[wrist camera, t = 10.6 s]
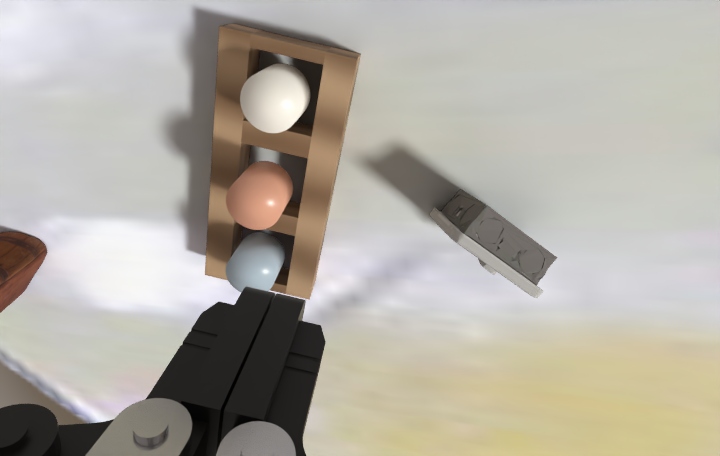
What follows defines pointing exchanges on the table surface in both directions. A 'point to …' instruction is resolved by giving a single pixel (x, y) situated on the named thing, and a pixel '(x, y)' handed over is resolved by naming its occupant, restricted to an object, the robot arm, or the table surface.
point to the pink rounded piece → (259, 195)
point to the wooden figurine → (18, 264)
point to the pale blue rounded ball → (256, 262)
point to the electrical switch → (494, 241)
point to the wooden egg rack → (277, 149)
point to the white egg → (275, 98)
